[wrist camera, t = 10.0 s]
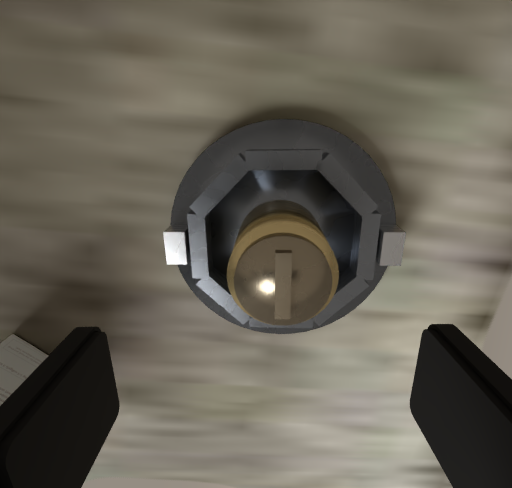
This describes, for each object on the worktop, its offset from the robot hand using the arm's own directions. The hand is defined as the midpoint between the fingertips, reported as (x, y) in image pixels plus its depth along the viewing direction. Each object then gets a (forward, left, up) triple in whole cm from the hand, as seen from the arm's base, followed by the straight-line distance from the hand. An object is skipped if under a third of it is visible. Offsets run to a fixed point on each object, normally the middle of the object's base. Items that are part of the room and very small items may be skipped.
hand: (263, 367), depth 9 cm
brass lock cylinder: (+1, 0, -11) cm, 11 cm away
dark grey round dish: (+1, 0, -12) cm, 12 cm away
